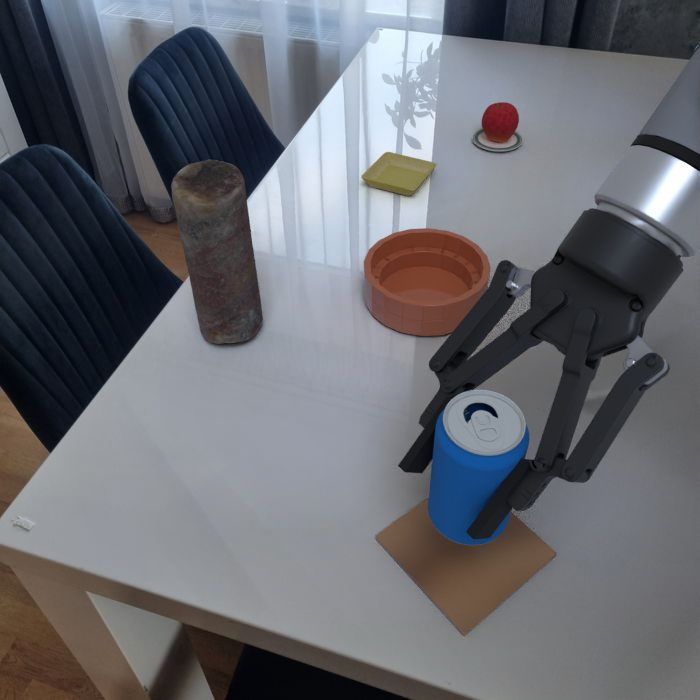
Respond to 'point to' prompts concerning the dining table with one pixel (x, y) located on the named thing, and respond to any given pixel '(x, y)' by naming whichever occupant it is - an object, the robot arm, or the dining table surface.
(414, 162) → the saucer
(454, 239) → the bowl
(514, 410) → the beverage can
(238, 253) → the stone cylinder
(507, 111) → the apple
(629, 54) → the dining table surface
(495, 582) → the cork mat
